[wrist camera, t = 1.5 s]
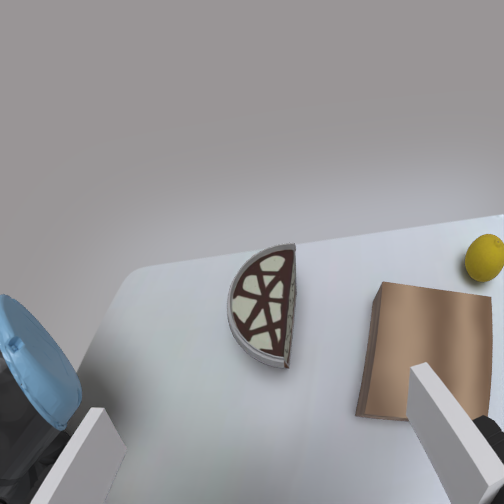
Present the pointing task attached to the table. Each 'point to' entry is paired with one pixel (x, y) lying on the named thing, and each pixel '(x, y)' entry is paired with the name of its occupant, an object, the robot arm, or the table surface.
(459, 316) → the square wooden plinth
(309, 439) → the table surface
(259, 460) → the table surface
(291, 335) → the food container
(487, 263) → the lemon
